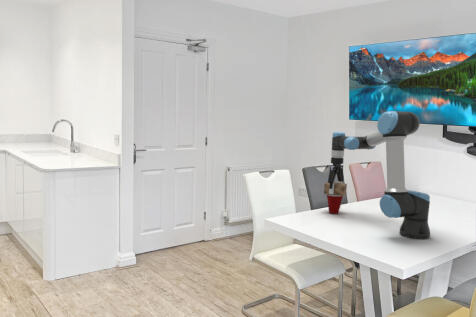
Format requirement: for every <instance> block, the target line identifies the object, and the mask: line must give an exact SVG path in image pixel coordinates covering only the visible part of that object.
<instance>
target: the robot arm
mask: <svg viewBox="0 0 476 317" xmlns="http://www.w3.org/2000/svg"><path fill="white" fill-rule="evenodd" d="M376 125H377V131H374V132H372V133H369V134H368V135H366V136H349V135H347V136H346V133H345V132H343V131H333V133H332V137H331V139H332V140H331V151H330V153H331V154H330V156H331V158H330V163H331V164H332V166H329V174H328V177H327V178H328V179H327V182H328V183H330V185H329V194H334V184H333V183H335V179H336V176H337V181H336V183H342V182H344V165H343V164H344V157H345V150H349V151H351V150H352V151H355V150H374V149H375V148H376V146H378V145H381V144H384V143H385V153H386V154H385V155H386V158H385V159H386V185H387V186H386V188H385V189H384V191H383V192H384V194H383V195H382V196H381V197H380V199H379V208H380V210H381V212H382V214H384V216H385V217H387V218H390V219H391V218H392V219H394V218H395V219H398V218H403V220H402V223H401V225H400V226H399V230H398V232H399V235H401V236H403V237H406V238H410V239H417V240H428V239H430V238H431V230H430V226H429V213H430V205H431V204H430V203H431V201H430V198H431V197H430V194H428V193H426V192H422V191H421V192H420V191H417V190H411V189H410V190H409V189H407V188H406V176H405V175H406V173H405V171H406V170H405V142H404V140H406V139H407V138H408V136H410V135H412V134H414V133H416V132H417V131H418V130H419V128H420V126H421V124H420V118H419V116H417V114H415V113H413V112H411V111H398V110H391V111H385V112H383V113H382V114H381V115H380V116H379V118H378V120H377V124H376Z"/></svg>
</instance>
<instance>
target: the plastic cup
mask: <svg viewBox="0 0 476 317" xmlns="http://www.w3.org/2000/svg"><path fill="white" fill-rule="evenodd" d="M325 195H326V198H327V207H328V212H329V214H334V215H338V214H339V212H340V209H341V204H342V201H343V198H344V196H341V195H332V194H325Z"/></svg>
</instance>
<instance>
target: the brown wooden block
mask: <svg viewBox="0 0 476 317" xmlns="http://www.w3.org/2000/svg"><path fill="white" fill-rule="evenodd" d="M333 184H334V194H332V195H341V196H343V197H345V195H346V194H347V190H348V188H347V186H348V183H337V182H334V183H333ZM329 185H330V183H328V181H327V182H326V183H324V188H323V194H324V195H326V194H329Z"/></svg>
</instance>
